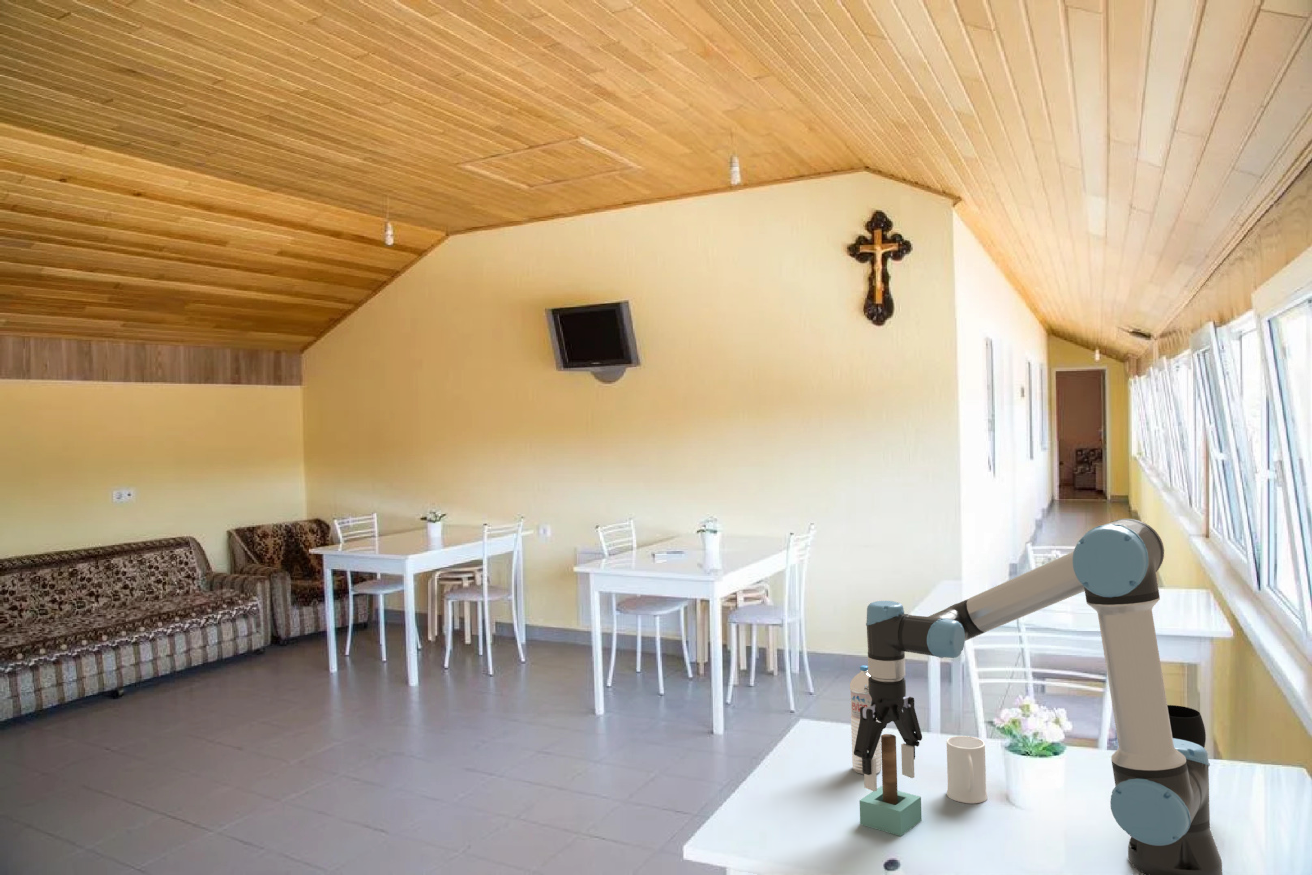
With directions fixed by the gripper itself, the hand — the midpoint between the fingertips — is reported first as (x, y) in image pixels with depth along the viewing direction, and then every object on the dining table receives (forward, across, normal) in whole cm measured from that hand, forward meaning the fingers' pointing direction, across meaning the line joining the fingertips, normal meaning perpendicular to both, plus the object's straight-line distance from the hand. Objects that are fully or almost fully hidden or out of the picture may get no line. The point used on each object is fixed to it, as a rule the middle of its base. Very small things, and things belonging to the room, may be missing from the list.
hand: (889, 782), depth 192 cm
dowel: (+8, 0, 0) cm, 8 cm away
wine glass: (+9, -54, +31) cm, 63 cm away
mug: (+9, -22, +2) cm, 24 cm away
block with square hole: (+8, 0, 0) cm, 8 cm away
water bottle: (+9, -17, -23) cm, 30 cm away
